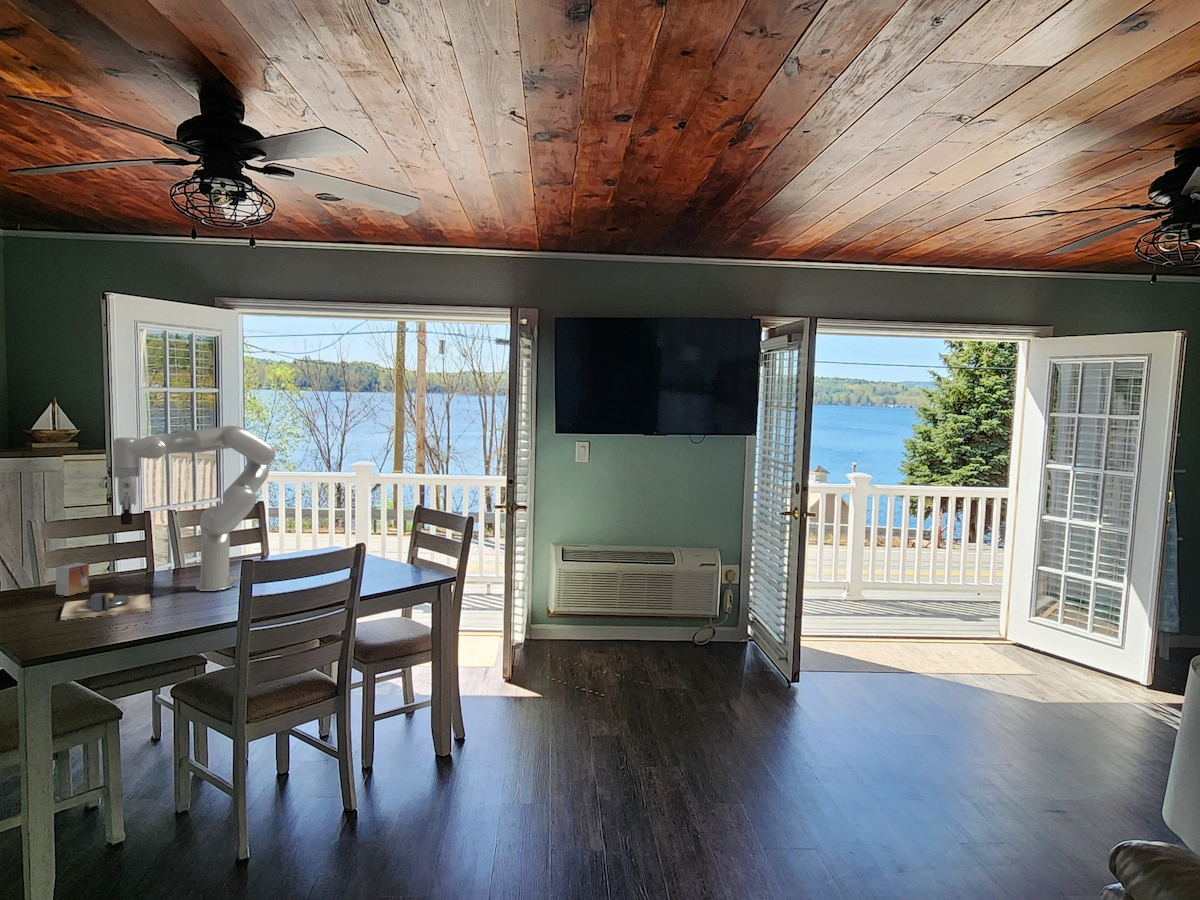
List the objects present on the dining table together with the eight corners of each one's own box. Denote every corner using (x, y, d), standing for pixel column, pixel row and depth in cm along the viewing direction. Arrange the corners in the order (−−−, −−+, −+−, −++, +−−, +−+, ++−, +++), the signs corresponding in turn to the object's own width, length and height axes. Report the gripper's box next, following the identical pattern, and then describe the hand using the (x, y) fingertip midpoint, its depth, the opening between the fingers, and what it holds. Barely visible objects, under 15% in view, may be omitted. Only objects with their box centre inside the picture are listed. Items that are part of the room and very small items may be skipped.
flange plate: (95, 598, 236) (95, 584, 235) (134, 597, 239) (135, 583, 239) (74, 611, 221) (74, 596, 221) (117, 610, 225) (117, 595, 224)
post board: (149, 598, 246) (149, 580, 246) (150, 611, 231) (150, 592, 231) (65, 606, 232) (65, 587, 232) (60, 621, 218) (60, 600, 217)
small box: (68, 597, 242) (68, 568, 242) (55, 596, 244) (55, 566, 243) (89, 592, 250) (89, 563, 250) (76, 590, 251) (76, 562, 251)
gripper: (139, 474, 236) (139, 527, 237) (139, 470, 249) (139, 520, 250) (113, 475, 232) (112, 528, 233) (114, 470, 244) (113, 521, 245)
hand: (126, 524), depth 241 cm, fingers closed
